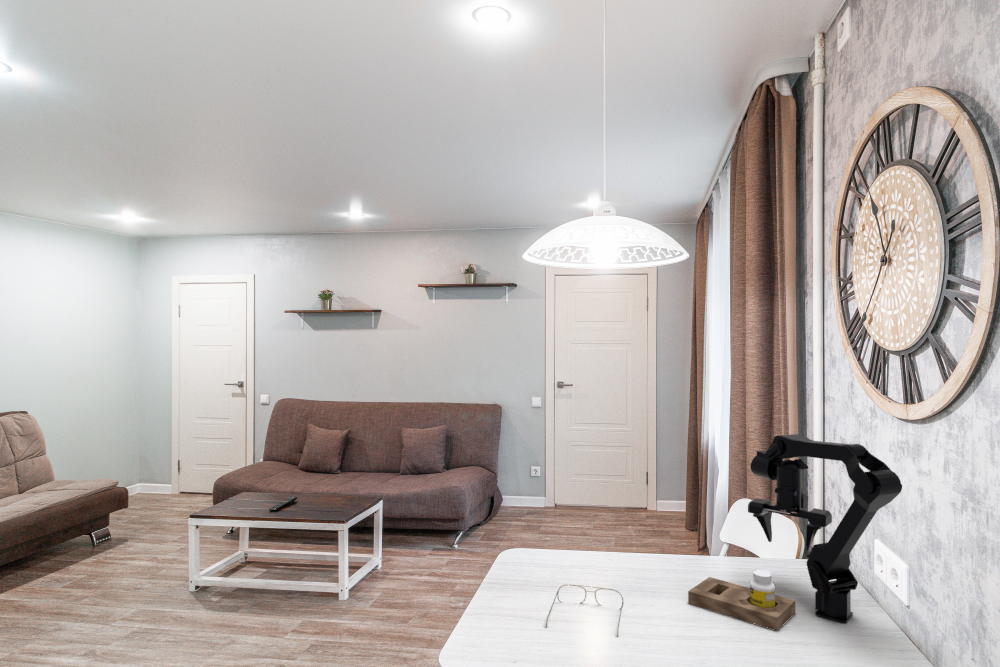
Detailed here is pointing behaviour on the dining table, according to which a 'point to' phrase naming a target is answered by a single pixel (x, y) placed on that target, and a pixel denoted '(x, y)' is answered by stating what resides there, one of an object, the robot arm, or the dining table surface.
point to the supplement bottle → (762, 590)
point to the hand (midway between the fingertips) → (788, 545)
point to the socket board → (739, 603)
